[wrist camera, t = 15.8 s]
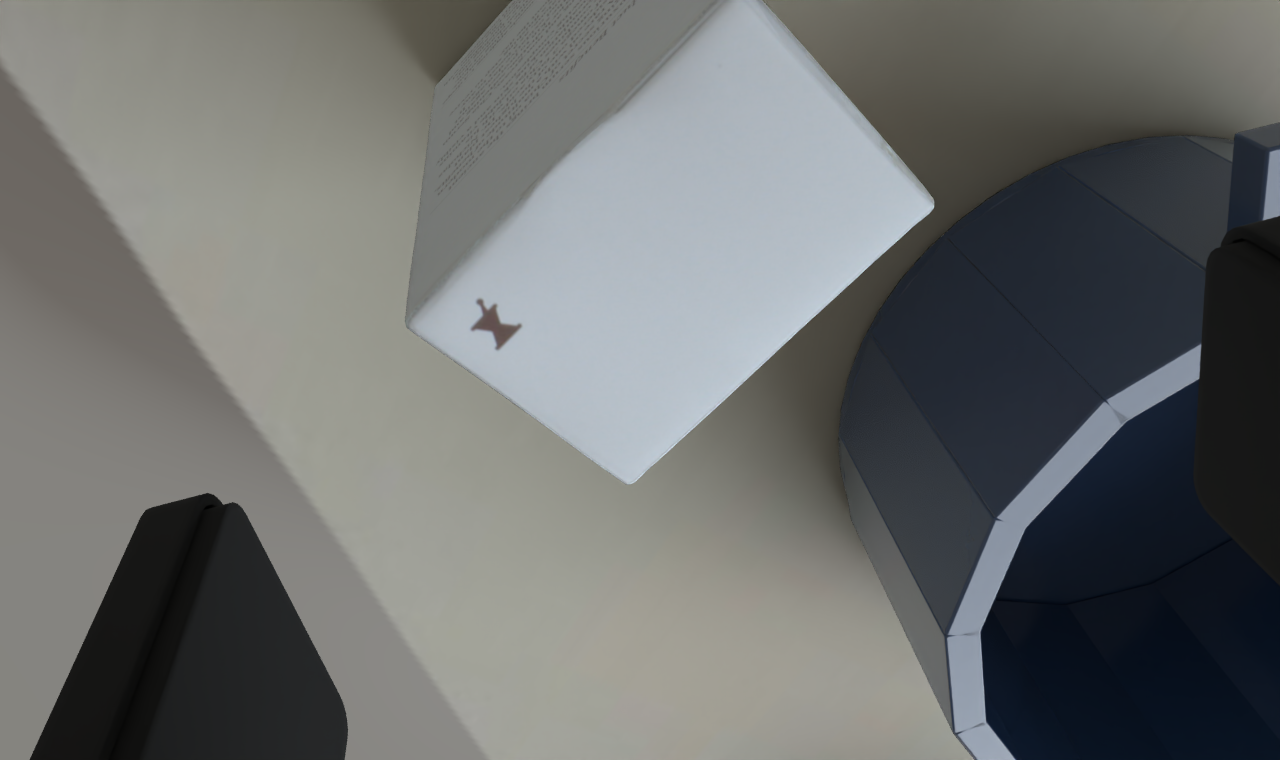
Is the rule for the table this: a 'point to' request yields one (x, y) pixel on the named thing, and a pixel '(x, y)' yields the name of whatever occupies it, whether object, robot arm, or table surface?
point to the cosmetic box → (641, 212)
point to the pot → (1069, 464)
